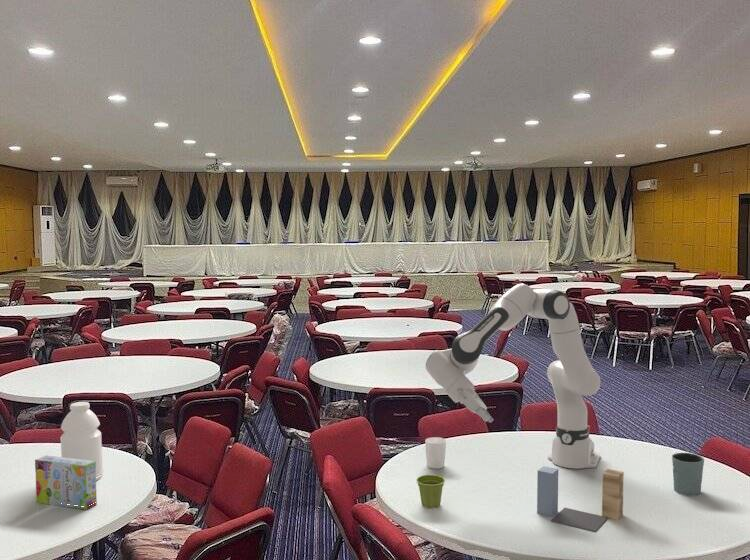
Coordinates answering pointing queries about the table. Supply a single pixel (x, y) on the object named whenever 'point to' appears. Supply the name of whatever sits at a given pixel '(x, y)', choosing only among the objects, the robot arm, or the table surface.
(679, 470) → the teal embossed cup
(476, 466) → the table surface
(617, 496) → the oak pillar
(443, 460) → the white cup
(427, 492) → the plant pot
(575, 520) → the mat
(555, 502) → the slate pillar
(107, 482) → the table surface
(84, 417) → the bottle
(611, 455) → the table surface
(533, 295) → the robot arm
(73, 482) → the snack box
